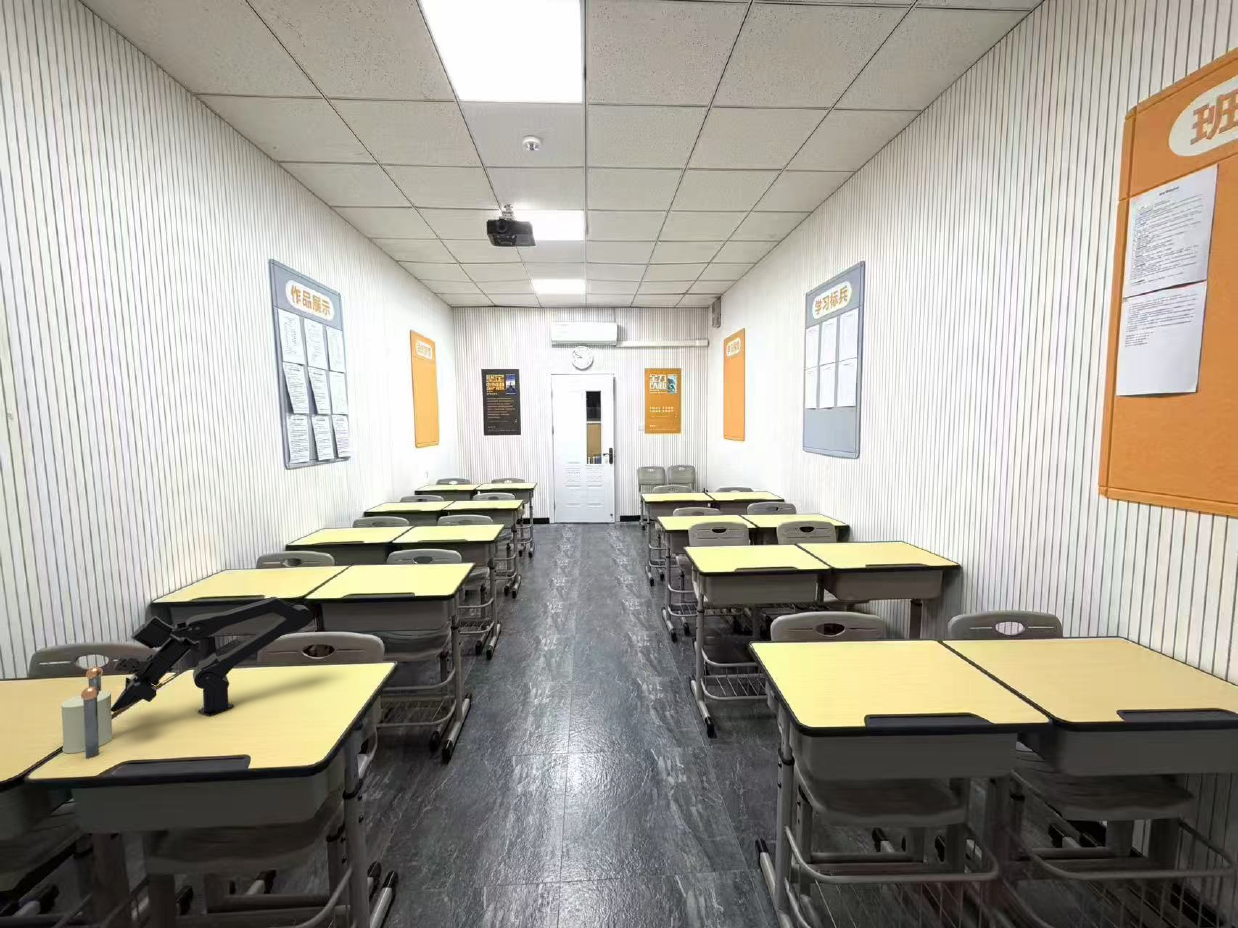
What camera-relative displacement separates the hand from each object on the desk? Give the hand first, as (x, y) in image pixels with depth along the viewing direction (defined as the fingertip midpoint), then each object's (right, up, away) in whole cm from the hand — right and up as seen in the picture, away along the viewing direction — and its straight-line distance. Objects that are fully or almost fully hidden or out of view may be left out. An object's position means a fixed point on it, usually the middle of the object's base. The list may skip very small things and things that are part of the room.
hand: (112, 710), depth 140 cm
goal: (-2, -7, -2) cm, 8 cm away
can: (-3, -7, -3) cm, 8 cm away
